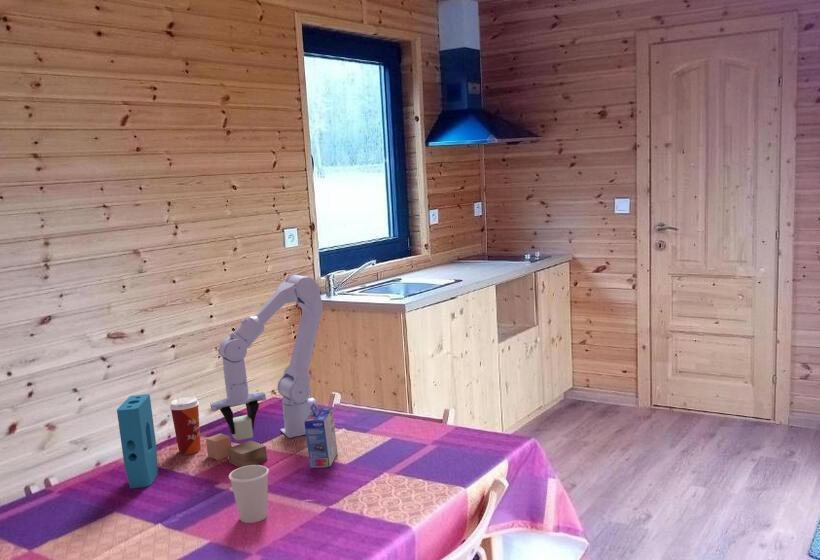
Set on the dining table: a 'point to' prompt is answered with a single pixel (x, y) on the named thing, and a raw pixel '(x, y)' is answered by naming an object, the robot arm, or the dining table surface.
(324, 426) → the ink cartridge box
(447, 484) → the dining table surface
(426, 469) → the dining table surface
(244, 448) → the walnut base
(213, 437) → the terracotta cube
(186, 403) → the paper cup
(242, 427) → the sage cube
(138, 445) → the block
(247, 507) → the dixie cup
